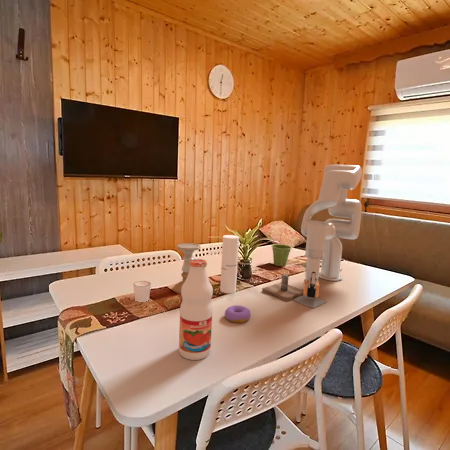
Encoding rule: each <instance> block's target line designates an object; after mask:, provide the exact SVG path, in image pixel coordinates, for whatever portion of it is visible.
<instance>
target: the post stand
mask: <svg viewBox="0 0 450 450" xmlns="http://www.w3.org/2000/svg"><path fill="white" fill-rule="evenodd" d="M289 277H290V276H289V275H288V274H284V273H283V274H282V275H281V282H278V283H274V284H272V285H268V286H264V287H262V288H261V290H262V293H265V294H268V295H270V296H272V297H275V298H278V299H280V300H283V301H285V302H290V301H293V299H295V298H298V297H300V296H303V289H302V288H300V287H296V286H293V285H290V284H289V279H290V278H289Z"/></svg>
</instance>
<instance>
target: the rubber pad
mask: <svg viewBox="0 0 450 450" xmlns="http://www.w3.org/2000/svg"><path fill="white" fill-rule="evenodd" d="M292 301H293V302H296V303H298V304H302V305H303V306H307V307H309V308H310V309H316V308H318V307H320V306H322V305H325V304H326V303H327V300H324V299H321V298H319V297H315V298H313V297H307V296H306V295H302V296H300V297H297V298H295V299H292Z"/></svg>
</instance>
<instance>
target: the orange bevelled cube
mask: <svg viewBox="0 0 450 450" xmlns="http://www.w3.org/2000/svg"><path fill="white" fill-rule="evenodd" d="M311 281H312V280H311ZM310 284H311V282H310ZM308 287H309V280H307V281H306V279H303V289H302V290H303V295H306V296H307V291H308ZM303 295H302V296H303ZM319 295H320V282H319V280H318V281H317V282H316V292H315V297H316V298H319Z"/></svg>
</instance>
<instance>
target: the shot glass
mask: <svg viewBox="0 0 450 450" xmlns="http://www.w3.org/2000/svg"><path fill="white" fill-rule="evenodd" d="M132 285H133V286H132V287H133V293H134V302H136V301H138V302H144V303H146V302H145V301H147V302H149V301H150V295H151V294H150V293H151V285H152V283H151V282H150V281H146V280H139V281H136V282H134V283H133V284H132ZM148 300H149V301H148ZM138 302H137V303H138Z"/></svg>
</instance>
